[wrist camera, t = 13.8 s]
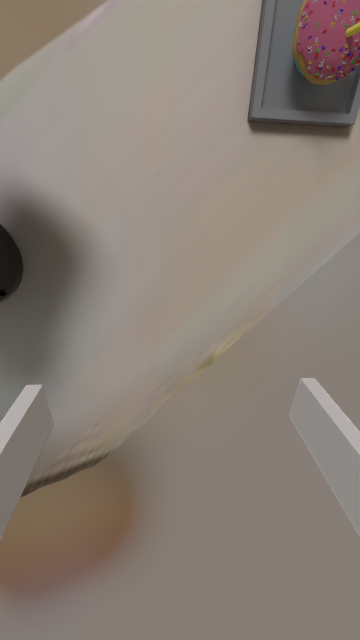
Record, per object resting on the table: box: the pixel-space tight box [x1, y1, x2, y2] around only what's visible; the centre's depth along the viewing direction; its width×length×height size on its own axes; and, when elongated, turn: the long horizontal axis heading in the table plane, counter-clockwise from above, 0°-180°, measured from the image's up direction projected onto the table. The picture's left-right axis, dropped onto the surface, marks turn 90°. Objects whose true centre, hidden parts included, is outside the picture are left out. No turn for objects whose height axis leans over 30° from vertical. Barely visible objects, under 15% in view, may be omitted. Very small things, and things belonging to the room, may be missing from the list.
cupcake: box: [292, 0, 360, 85], centre depth 26 cm, size 9×8×12 cm
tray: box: [248, 0, 360, 127], centre depth 31 cm, size 14×14×2 cm
